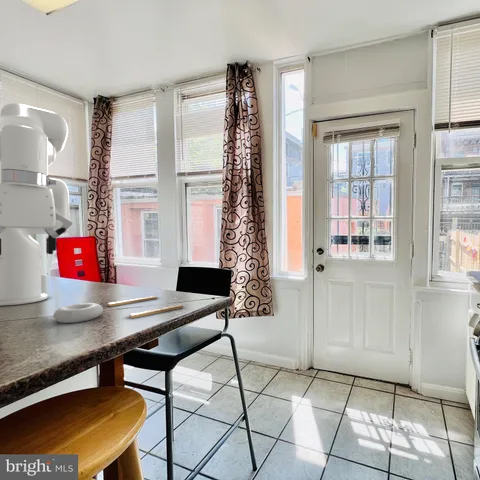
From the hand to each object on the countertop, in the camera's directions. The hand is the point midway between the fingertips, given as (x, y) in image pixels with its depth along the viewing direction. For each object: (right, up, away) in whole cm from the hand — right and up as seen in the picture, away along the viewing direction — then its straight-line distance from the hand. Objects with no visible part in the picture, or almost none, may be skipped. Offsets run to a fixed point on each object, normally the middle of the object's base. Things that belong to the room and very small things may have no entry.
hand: (25, 254), depth 65 cm
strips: (+15, -18, +21) cm, 32 cm away
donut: (+5, -18, +8) cm, 21 cm away
